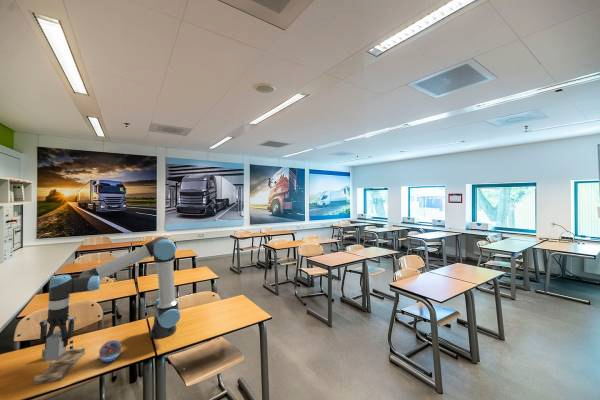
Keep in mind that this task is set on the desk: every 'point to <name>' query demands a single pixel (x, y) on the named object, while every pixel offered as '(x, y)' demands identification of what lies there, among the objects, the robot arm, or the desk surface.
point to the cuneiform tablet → (45, 351)
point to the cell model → (110, 350)
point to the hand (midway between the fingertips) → (56, 353)
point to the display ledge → (60, 366)
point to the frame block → (53, 346)
